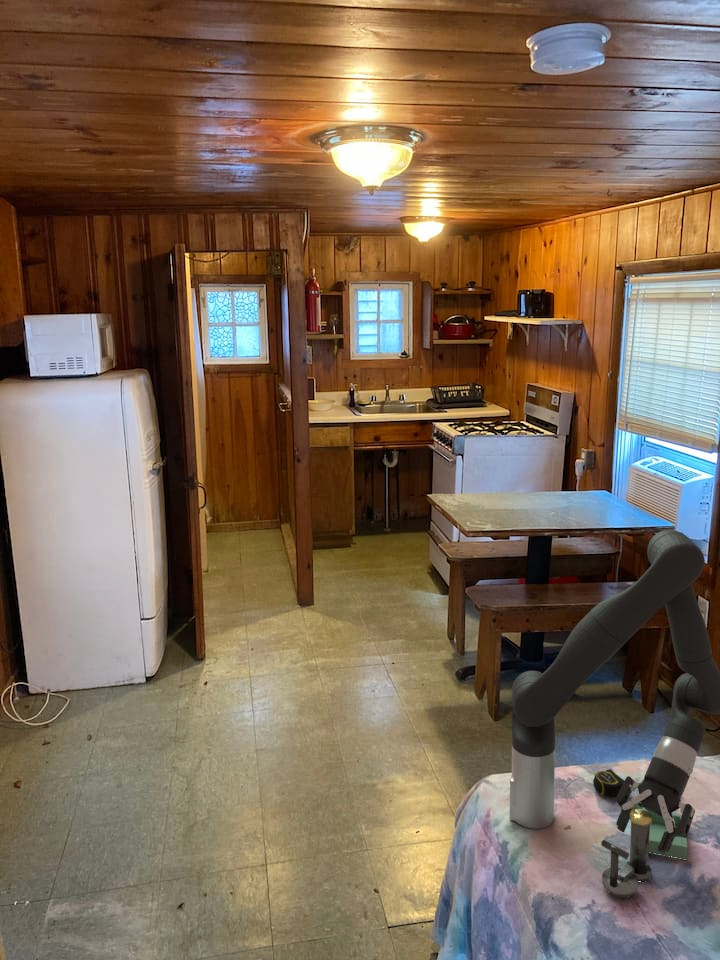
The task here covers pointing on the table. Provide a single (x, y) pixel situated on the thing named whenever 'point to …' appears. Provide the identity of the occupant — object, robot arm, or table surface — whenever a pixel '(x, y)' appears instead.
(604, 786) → the tape measure
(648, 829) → the pin
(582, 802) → the table surface
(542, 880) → the table surface
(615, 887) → the t-handle
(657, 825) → the tray
